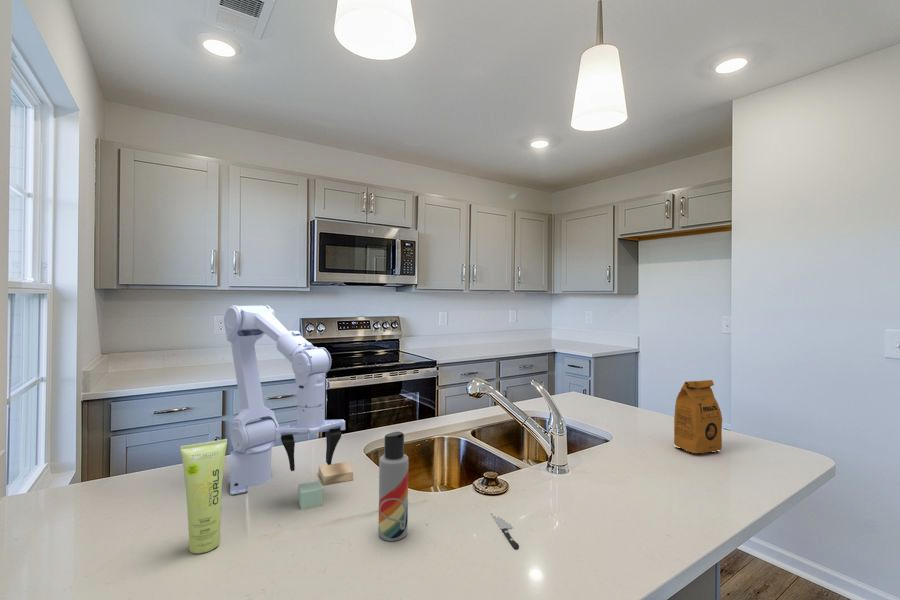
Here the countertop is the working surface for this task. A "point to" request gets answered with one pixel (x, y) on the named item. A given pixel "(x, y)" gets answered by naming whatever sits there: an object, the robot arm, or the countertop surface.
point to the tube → (204, 492)
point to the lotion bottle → (393, 489)
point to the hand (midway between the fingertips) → (310, 466)
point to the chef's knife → (504, 527)
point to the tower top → (335, 473)
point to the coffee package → (697, 418)
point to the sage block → (310, 495)
